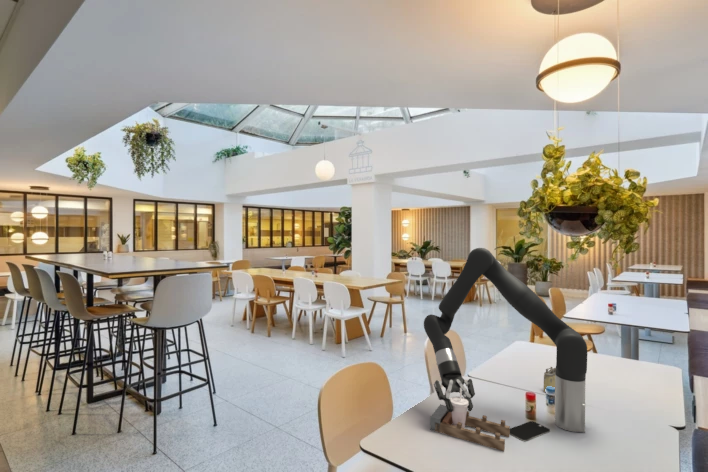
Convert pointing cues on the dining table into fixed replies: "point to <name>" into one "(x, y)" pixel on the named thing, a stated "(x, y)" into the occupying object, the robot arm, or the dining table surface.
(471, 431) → the brown pegged rack
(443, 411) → the block
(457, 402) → the smoothie
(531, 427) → the smartphone
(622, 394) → the dining table surface
